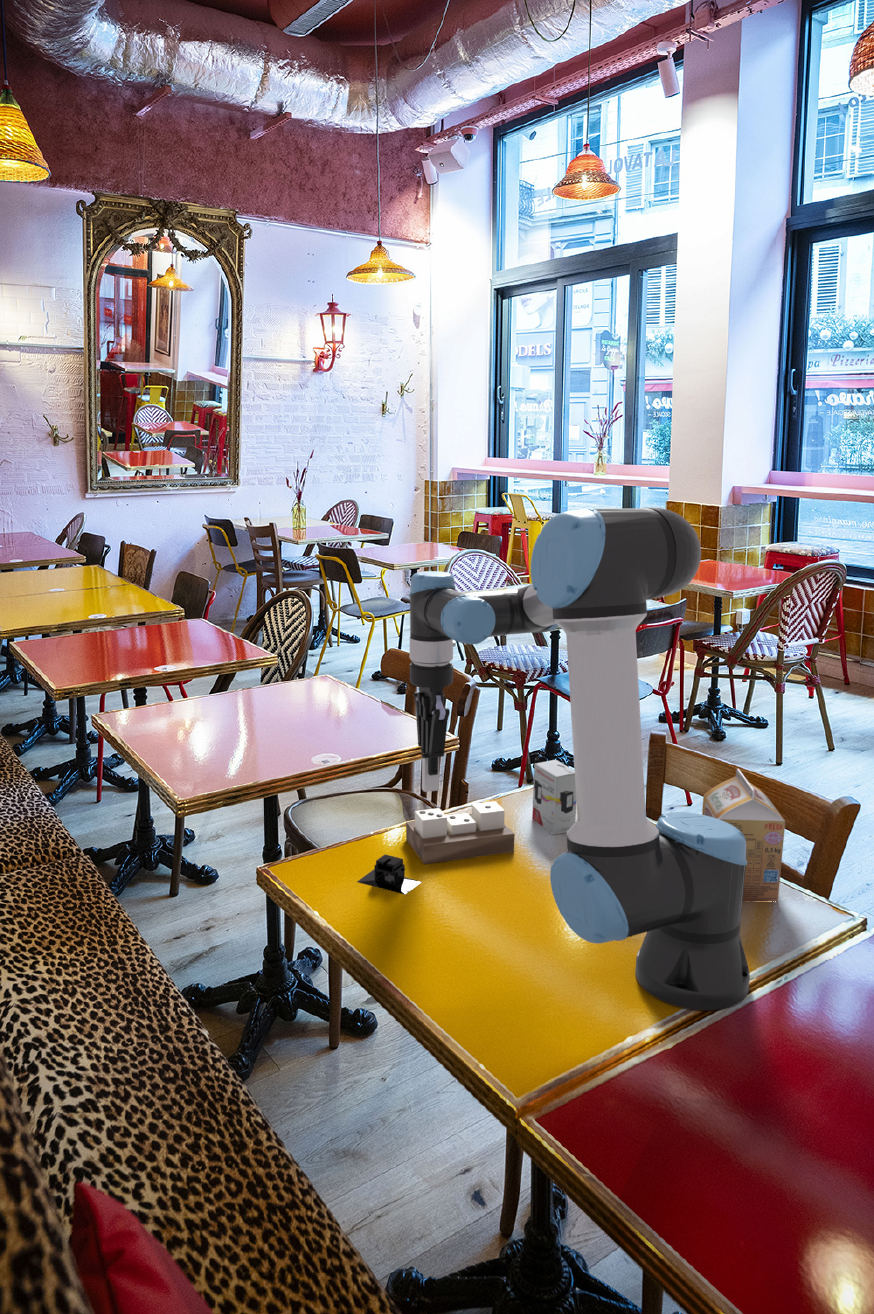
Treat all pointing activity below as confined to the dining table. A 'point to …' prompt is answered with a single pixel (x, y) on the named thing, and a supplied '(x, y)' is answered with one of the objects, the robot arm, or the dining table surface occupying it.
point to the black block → (389, 875)
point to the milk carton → (751, 832)
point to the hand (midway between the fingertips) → (430, 789)
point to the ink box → (554, 796)
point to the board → (460, 844)
